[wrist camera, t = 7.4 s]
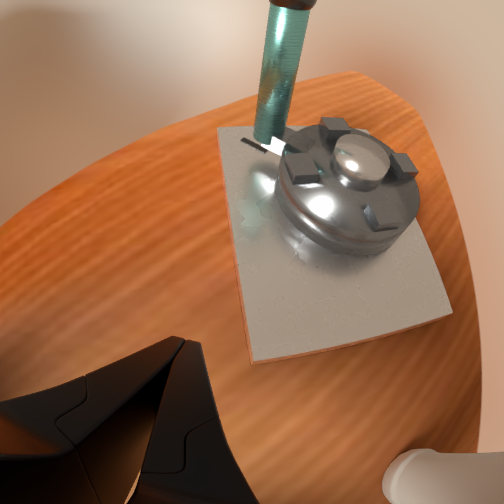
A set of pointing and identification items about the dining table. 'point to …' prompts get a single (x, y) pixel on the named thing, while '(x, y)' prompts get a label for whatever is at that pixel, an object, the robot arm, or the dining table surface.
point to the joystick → (328, 156)
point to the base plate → (314, 269)
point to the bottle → (445, 478)
